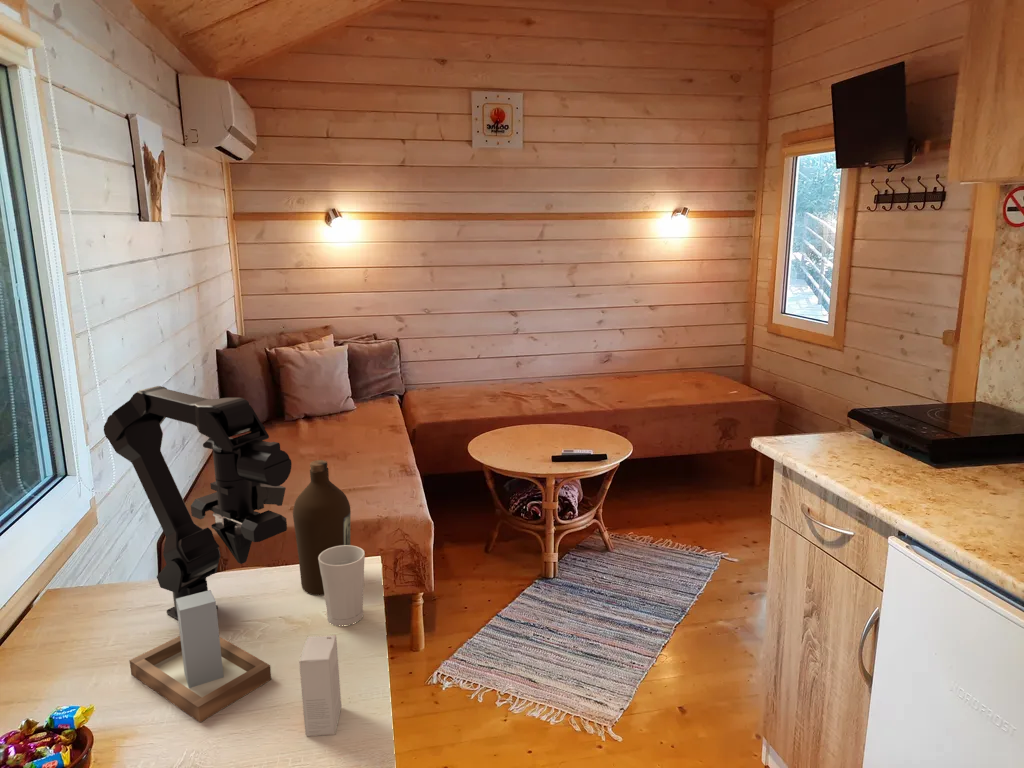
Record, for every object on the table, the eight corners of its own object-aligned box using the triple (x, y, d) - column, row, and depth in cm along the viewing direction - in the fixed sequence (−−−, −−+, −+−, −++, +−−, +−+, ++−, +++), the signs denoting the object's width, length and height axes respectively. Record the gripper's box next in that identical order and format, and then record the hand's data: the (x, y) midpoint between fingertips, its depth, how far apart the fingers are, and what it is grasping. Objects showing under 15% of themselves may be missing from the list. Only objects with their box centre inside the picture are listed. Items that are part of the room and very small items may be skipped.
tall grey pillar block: (184, 674, 112) (175, 598, 109) (218, 664, 115) (210, 589, 112) (188, 688, 109) (179, 610, 106) (223, 677, 112) (215, 601, 109)
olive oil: (297, 600, 135) (287, 474, 129) (299, 574, 145) (290, 456, 139) (355, 593, 137) (348, 469, 132) (353, 568, 147) (346, 451, 142)
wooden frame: (131, 674, 113) (129, 660, 113) (201, 638, 123) (200, 625, 122) (199, 722, 102) (198, 707, 102) (271, 679, 112) (270, 665, 111)
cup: (357, 631, 125) (353, 567, 122) (314, 626, 126) (310, 563, 124) (374, 607, 133) (371, 547, 130) (334, 602, 134) (330, 543, 131)
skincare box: (312, 708, 105) (306, 635, 103) (341, 707, 106) (337, 633, 103) (304, 737, 99) (298, 660, 97) (335, 736, 100) (330, 659, 97)
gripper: (310, 472, 119) (316, 559, 123) (242, 452, 130) (250, 532, 134) (252, 493, 111) (260, 586, 114) (184, 469, 121) (194, 554, 125)
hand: (242, 562), depth 122 cm, fingers closed
